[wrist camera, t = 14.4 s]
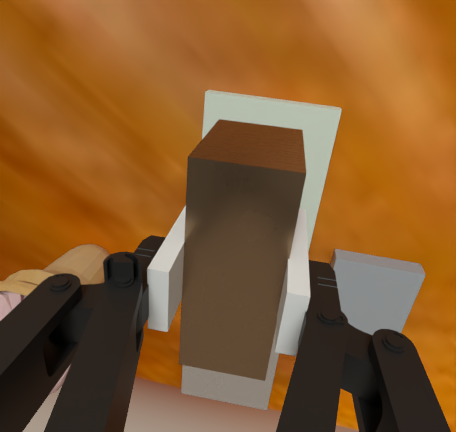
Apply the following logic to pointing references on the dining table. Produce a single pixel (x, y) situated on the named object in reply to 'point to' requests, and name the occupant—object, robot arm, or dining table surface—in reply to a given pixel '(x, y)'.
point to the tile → (376, 289)
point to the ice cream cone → (68, 263)
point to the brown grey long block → (237, 257)
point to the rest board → (289, 118)
